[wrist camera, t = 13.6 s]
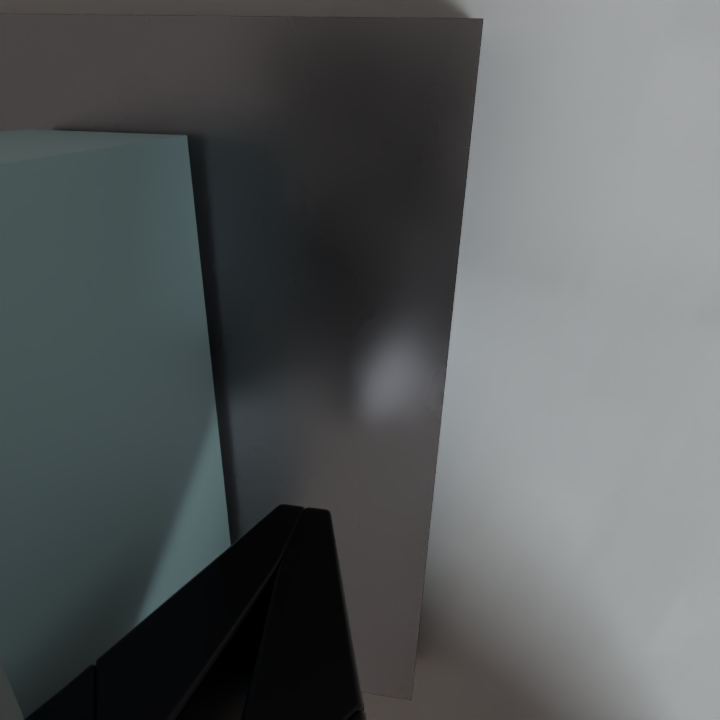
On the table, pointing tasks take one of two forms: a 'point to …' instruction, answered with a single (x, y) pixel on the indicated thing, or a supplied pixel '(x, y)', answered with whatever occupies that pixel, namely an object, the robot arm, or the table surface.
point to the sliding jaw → (99, 400)
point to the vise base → (302, 255)
